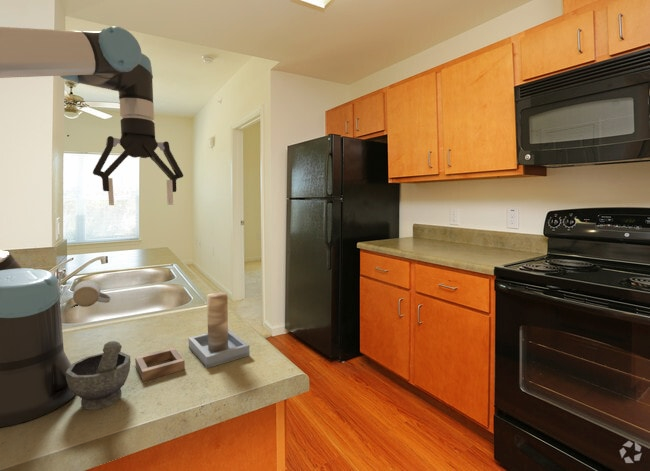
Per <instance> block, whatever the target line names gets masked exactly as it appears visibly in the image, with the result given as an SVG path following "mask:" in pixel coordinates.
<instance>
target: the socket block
mask: <svg viewBox="0 0 650 471" xmlns="http://www.w3.org/2000/svg"><path fill="white" fill-rule="evenodd" d="M134 359H135V368H136V369H137V372H138V374H139V376H140V378H141V380H142V382H145V381H149V380H153V379H155V378H159V377H163V376H166V375H170V374H173V373H177V372H180V371H183V370H185V369H186V368H185V367H186V366H185V360H184V358H183V357H182V356H181V354H180V353H179V351H178V350H177V349H176V348H175V347H171V348H166V349H163V350H158V351H154V352H150V353H146V354H143V355H138V356H135V357H134ZM169 360H171V361H169ZM164 361H168V362H164ZM161 362H164V363H161ZM156 363H161V364H158V365H154V366H149V365H153V364H156ZM148 366H149V367H148Z"/></svg>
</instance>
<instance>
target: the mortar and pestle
mask: <svg viewBox="0 0 650 471" xmlns="http://www.w3.org/2000/svg"><path fill="white" fill-rule="evenodd" d="M122 348H123V347H122V344H121V343H120V342H118V341H116V340H113V341H108V342H106V343H104V345H103V347H102V353H97V354H92V355H89V356H86V357H83V358H81V359H80V360H77V361H75V362H74V363H71V365H70V367H69V368H68V370H67V371H66V380H67V384H68V387H69V388H70V389H71V391H72V392H73V393H74V394H75V395H76V396H78V397H79V398H81V401H80V404H81V407H82V408H84V409H85V410H99V409H102V408H106V407H110V406H111V405H114V403H116V402H117V401H119V400H121V396H122V387H123V386H124V385H125V383H126V381H127V379H128V376H129V373H130V370H131V355H129V354H127V353H125V352H122V351H121V350H122Z"/></svg>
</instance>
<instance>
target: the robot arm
mask: <svg viewBox="0 0 650 471" xmlns="http://www.w3.org/2000/svg"><path fill="white" fill-rule="evenodd" d="M31 77H32V78H33V77H36V78H37V77H38V78H39V77H60V78H62V79H63V80H66V81H69V82H73V83H75V84H77V85H78V84H82V85H87V86H92V87H94V88H95V87H96V88H101V89H105V90H109V91H115V92H118V100H119V116H120V117H121V119H120V130H121V131H120V134H121V135H120V138H116V137H113V136H111V135H110V136H107V138H106V144H105V148H104V150H103V152H102V153H101V155H100V158H99V159H98V161H97V163H96V165H95V166H94V169H93V171H92V174H93V175H94V176H97V177H100V178H101V180H102V182H101V183H102V191H103V192H107V193H108V194H107V195H108V205H109V206H115V201H114V200H115V198H114V184H113V178H112V177H109V176H110V175H111V174H112V173H113V172H115V170H116V169H117V168H118V167H119V166H120V165H121V164H122V163H123V162H124V161H125V159H126V158H128V157H131V158H141V159H148V158H150V160H151V161H153V163H155V165H156V166H157V167H158V168H159V169H160V170H161V171H162V172H163V173H164V174H165V176H166V177H167V178H168V179H167V180H166V194H167V196H166V198H167V205H172V206H173V205H174V193H176V192H177V180H178V179H181V178H184V173H183V172H182V170H181V168H180V167H179V166H180V165H179V164H178V162H177V161H176V159H175V156H174V155H173V153H172V151H171V148H170V143H169V141H166V140H165V141H164V142H163V141H162V142H161V141H160V142H158V141H157V139H156V126H155V125H156V124H155V123H154V121H153V120H155V111H154V110H155V106H154V91H153V89H154V87H153V86H154V84H153V79H154V75H153V69H152V63H151V59H150V58H149V57H148V56H147V55H146V54H144V53H142V48H141V45H140V43H139V42H138V40H137V38H136V37H135V36H134V34H132V33H131V32H130V31H128V30H127V29H125V28H123V27H120V26H115V25H114V26H113V25H112V26H109V27H106V28H102V29H101V30H100V31H91V30H69V29H68V30H67V29H65V30H64V29H49V28H48V29H47V28H32V27H31V28H30V27H29V28H28V27H9V26H0V78H1V79H5V78H6V79H7V78H31ZM117 145H120V146H121V148H123V150H124V151H122V152H121V153H120V154H119V155H118V157H117V158H116V159H115V160H114V161H113V162H112V163H111V164H110V165H109V166H108V167H107V168H106V170H104V171H102V170H103V167H104V165H105V163H106V162H107V159H108V158H109V156H110V154H111V152H112V151H113V148H115V147H117ZM157 148H159V150H160V151H162V152H163V155H164V157H165V159H166V161H167V162H168V164H169V166H170V168H171V169H170V168H169V167H168V166H167V164H166V163H165V162H164V161H163V160H162V159H161V158H160V157H159V155H158V154H157V152H155V151H156V149H157ZM60 297H61V288H60V286H59V281H58V278H57V276H56V274H54V273H53V272H51V271H49V270H46V269H41V268H40V269H39V268H38V269H34V268H30V267H29V268H25V267H24V268H23V267H22V266H21V265H20V264H19V262H18V261H17V260H16V259H15V257H14V256H13V255H12V254H11V253H10V252H9V251H7V250H1V249H0V428H2V427H3V428H4V427H9V426H13V425H17V424H21V423H25V422H29V421H31V420H34V419H37V418H40V417H42V416H45V415H46V414H49V413H51V412H53V411H55V410H56V409H59V408H60V407H62V406H64V405H65V404H67V403H68V402H69V401H70V400H72V399H73V398H74V397H75V395H76V394H74V393H73V392H72V391H71V389H70V388H69V387H68V384H67V380H66V371H67V370H68V368H69V367H70V365H71V364H72V363H71V361H70V360H69V358H68V356H67V354H66V351H65V350H64V335H63V334H64V333H63V324H62V323H63V322H62V311H61V298H60Z"/></svg>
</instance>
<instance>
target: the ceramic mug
mask: <svg viewBox="0 0 650 471" xmlns="http://www.w3.org/2000/svg"><path fill="white" fill-rule="evenodd" d="M111 298H112V296H110V295H108V294H107V293H103V292H101V287H100V285H99V283H97V282H95V281H93V280H89V279H88V280H82V281H80V282H78V283H76V285H75V286H74V288H73V293H72V300H73V301H74V303H75V304H76V305H77V306H79V307H83V308H85V307H91V306H93V305H95V304H96V303H97V302H99V303H102V304H103V303H104V304H106V303H110V301H111Z"/></svg>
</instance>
